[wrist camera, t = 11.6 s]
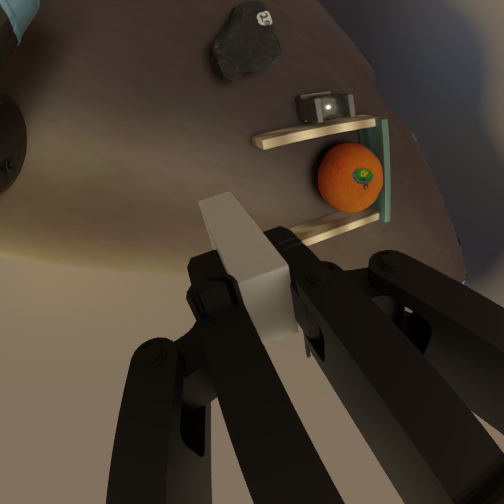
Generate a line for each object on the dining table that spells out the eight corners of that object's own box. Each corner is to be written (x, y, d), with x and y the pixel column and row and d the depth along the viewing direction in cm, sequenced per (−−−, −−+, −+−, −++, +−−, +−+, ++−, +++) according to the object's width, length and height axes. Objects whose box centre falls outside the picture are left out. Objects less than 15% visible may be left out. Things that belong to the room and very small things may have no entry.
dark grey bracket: (299, 122, 39) (318, 125, 34) (294, 95, 36) (313, 96, 32) (334, 115, 39) (355, 119, 35) (330, 90, 37) (352, 91, 33)
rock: (252, 3, 28) (267, -10, 23) (279, 64, 34) (297, 60, 29) (189, 22, 28) (194, 9, 23) (218, 85, 33) (228, 83, 28)
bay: (272, 241, 47) (287, 259, 42) (251, 136, 38) (266, 142, 33) (368, 207, 50) (389, 220, 45) (362, 114, 41) (387, 119, 36)
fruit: (362, 193, 48) (392, 210, 41) (311, 209, 46) (338, 229, 40) (359, 134, 42) (392, 143, 36) (303, 145, 41) (332, 155, 34)
